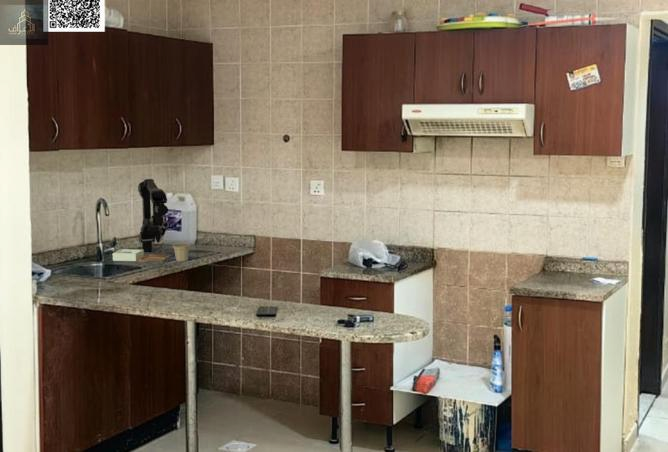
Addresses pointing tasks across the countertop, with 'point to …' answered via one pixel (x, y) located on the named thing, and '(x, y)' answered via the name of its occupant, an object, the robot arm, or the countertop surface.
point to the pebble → (160, 240)
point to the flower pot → (181, 251)
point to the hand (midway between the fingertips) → (159, 241)
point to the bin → (128, 255)
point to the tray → (154, 257)
